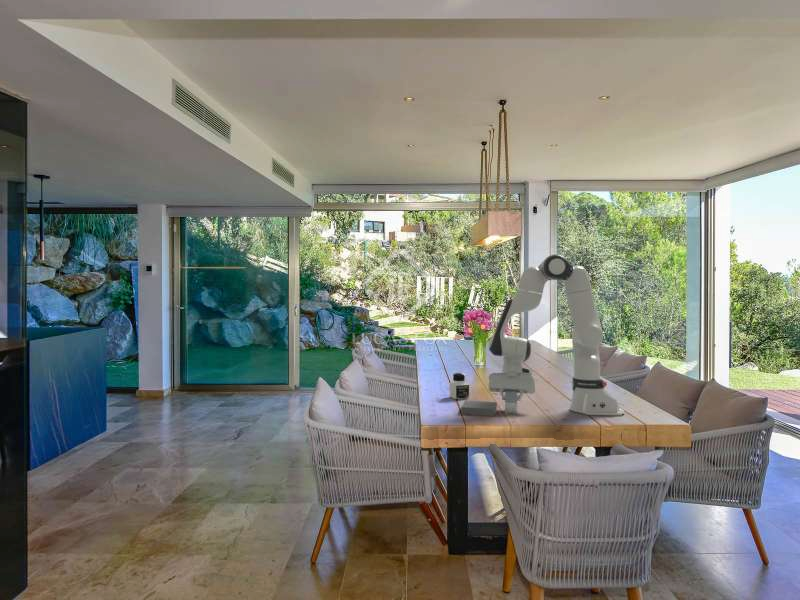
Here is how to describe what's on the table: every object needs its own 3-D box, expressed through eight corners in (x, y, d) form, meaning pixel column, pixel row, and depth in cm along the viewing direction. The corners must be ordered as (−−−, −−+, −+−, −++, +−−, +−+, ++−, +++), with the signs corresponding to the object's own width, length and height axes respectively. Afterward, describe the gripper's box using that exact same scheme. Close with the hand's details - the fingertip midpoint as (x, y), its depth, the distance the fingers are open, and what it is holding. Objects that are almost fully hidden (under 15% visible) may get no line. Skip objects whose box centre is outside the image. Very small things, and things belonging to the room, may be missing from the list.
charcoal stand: (496, 408, 239) (496, 402, 239) (494, 416, 226) (494, 409, 226) (465, 406, 243) (465, 400, 243) (461, 414, 229) (461, 407, 229)
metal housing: (517, 410, 235) (517, 390, 235) (516, 413, 231) (516, 392, 230) (505, 410, 237) (505, 389, 236) (505, 412, 232) (505, 392, 232)
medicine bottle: (456, 399, 258) (456, 375, 257) (449, 397, 264) (449, 372, 264) (469, 398, 260) (469, 374, 260) (462, 395, 267) (462, 371, 267)
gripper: (488, 368, 242) (486, 394, 233) (535, 370, 237) (535, 396, 228) (489, 376, 247) (487, 402, 238) (535, 378, 242) (535, 405, 233)
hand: (511, 399), depth 233 cm, fingers closed on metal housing, 5 cm apart
